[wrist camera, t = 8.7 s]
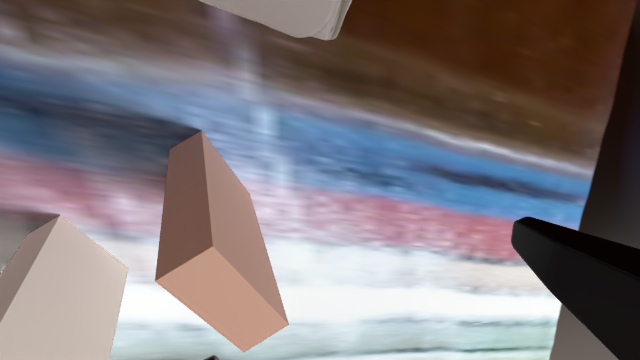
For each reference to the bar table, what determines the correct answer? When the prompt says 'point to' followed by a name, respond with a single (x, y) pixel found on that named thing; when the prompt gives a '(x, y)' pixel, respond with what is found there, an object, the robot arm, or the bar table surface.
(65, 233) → the tile
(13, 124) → the bar table surface
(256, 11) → the ink box
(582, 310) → the robot arm
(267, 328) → the tile
